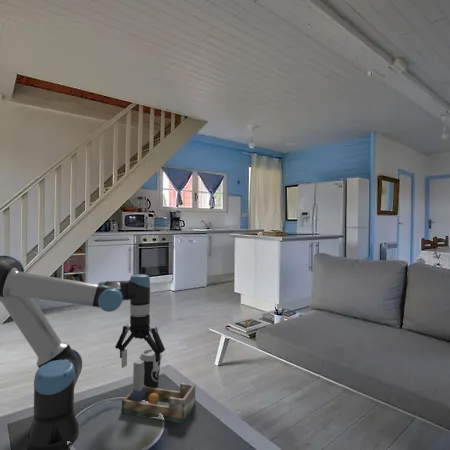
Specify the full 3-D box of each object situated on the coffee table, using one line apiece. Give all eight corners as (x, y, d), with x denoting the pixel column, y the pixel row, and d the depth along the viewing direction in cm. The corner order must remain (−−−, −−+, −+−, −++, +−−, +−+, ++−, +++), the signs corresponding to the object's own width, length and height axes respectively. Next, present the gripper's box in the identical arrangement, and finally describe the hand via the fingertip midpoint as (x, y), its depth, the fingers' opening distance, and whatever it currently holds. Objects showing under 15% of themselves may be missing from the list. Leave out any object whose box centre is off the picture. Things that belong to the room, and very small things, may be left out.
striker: (130, 404, 122) (130, 365, 122) (139, 395, 129) (139, 358, 129) (137, 406, 121) (138, 366, 121) (146, 396, 128) (146, 358, 128)
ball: (146, 405, 122) (146, 395, 122) (151, 400, 126) (151, 390, 126) (155, 407, 121) (156, 396, 121) (160, 401, 125) (160, 391, 125)
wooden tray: (121, 413, 119) (121, 391, 120) (138, 395, 132) (138, 376, 132) (183, 423, 114) (183, 401, 114) (195, 404, 126) (195, 384, 126)
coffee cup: (154, 379, 147) (155, 346, 147) (165, 386, 140) (166, 352, 140) (135, 385, 140) (136, 351, 141) (146, 394, 133) (146, 358, 134)
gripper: (173, 313, 126) (173, 367, 126) (117, 309, 132) (116, 361, 132) (165, 319, 119) (165, 375, 119) (106, 314, 125) (106, 368, 124)
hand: (139, 368), depth 125 cm, fingers open, 13 cm apart
